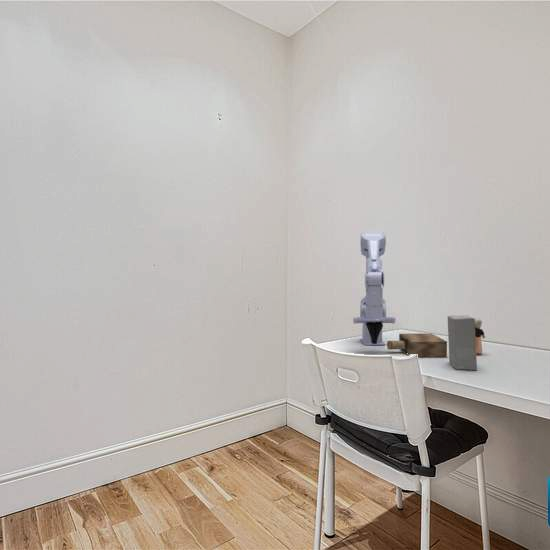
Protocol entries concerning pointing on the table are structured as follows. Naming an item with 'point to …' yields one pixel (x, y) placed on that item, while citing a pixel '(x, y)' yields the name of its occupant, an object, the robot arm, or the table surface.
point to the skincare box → (462, 342)
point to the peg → (395, 345)
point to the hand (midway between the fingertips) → (374, 343)
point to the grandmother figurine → (478, 336)
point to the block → (424, 345)
